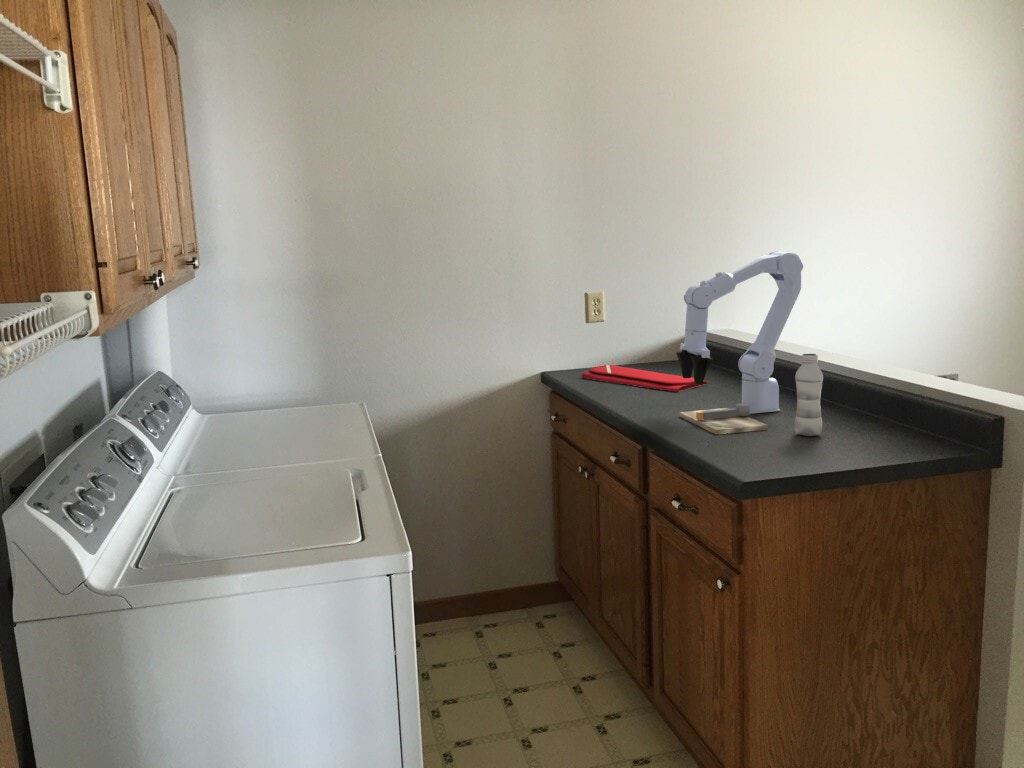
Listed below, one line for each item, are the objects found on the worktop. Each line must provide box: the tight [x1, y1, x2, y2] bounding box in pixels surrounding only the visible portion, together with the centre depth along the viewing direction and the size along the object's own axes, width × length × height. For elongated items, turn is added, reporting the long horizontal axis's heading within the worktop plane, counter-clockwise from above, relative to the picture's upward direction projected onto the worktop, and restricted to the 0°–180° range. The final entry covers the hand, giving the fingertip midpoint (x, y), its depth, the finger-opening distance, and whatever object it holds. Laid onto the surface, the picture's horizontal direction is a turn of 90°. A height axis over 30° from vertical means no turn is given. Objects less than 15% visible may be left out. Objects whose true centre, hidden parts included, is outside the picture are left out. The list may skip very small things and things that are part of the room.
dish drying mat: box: [581, 364, 709, 393], centre depth 298 cm, size 16×41×4 cm, turn 42°
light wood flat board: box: [679, 407, 768, 435], centre depth 237 cm, size 15×23×1 cm, turn 14°
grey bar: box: [696, 402, 751, 420], centre depth 237 cm, size 15×4×3 cm, turn 104°
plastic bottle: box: [793, 353, 824, 437], centre depth 220 cm, size 6×7×20 cm
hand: (692, 380), depth 246 cm, fingers open, 7 cm apart
